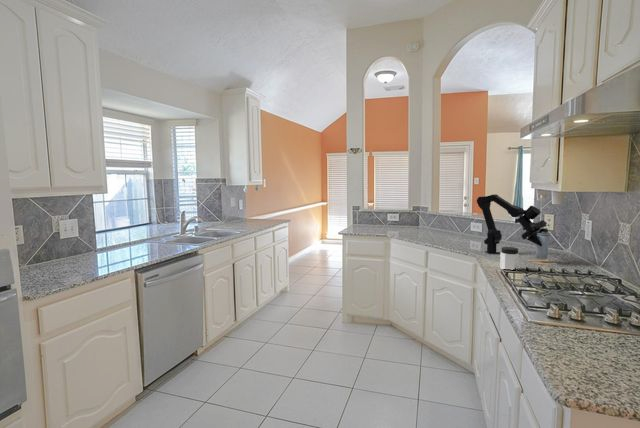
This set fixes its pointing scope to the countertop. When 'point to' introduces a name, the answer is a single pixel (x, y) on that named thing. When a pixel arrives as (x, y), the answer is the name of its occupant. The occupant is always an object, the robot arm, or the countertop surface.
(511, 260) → the jar
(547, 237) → the canister
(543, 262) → the coaster
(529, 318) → the countertop surface
